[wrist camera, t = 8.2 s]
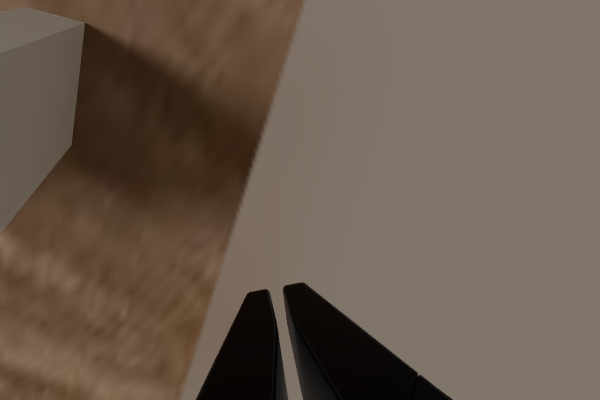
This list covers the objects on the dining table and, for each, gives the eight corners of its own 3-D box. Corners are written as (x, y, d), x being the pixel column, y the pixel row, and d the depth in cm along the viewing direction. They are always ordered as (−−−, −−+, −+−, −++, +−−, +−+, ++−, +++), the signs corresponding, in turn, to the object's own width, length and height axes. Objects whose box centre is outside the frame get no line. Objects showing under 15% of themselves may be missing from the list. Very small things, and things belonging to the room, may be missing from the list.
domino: (85, 22, 18) (-32, 64, 9) (71, 145, 20) (-37, 280, 11) (27, 7, 17) (-157, 35, 9) (18, 134, 19) (-141, 267, 10)
